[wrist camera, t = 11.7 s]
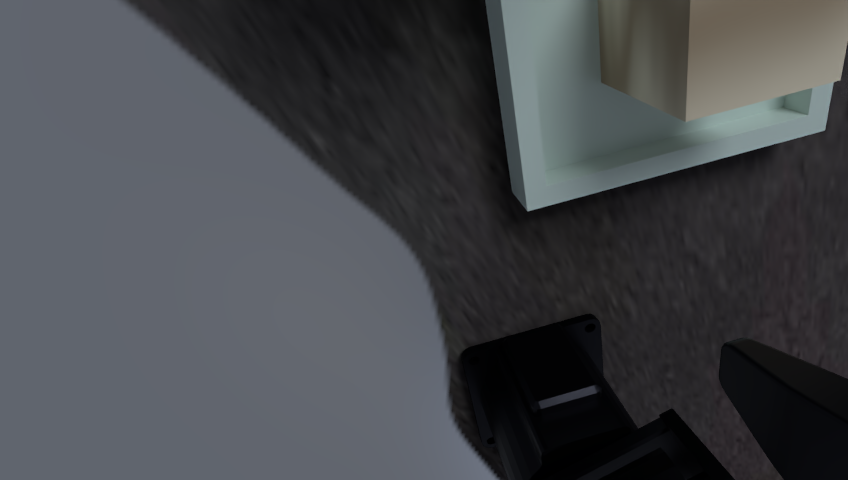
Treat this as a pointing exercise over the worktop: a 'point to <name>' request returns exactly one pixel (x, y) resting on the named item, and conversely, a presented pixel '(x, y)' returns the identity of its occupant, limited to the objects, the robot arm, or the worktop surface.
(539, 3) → the tray
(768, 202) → the worktop surface
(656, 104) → the birch block
